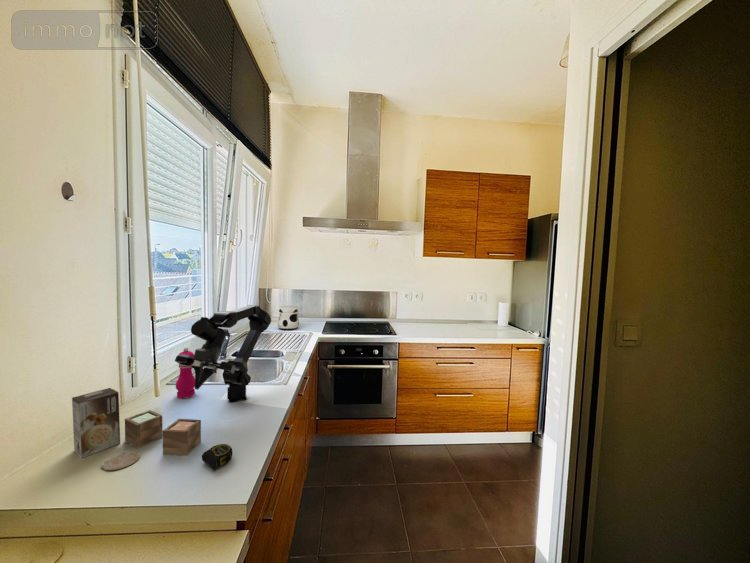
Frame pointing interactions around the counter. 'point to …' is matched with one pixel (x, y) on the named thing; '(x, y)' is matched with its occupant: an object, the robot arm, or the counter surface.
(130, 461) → the flatbread
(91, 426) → the coffee box
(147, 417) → the pale green cube
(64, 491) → the counter surface
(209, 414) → the counter surface
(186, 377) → the pepper mill
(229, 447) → the tape measure
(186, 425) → the pink dotted cube
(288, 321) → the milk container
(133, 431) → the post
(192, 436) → the wooden box
